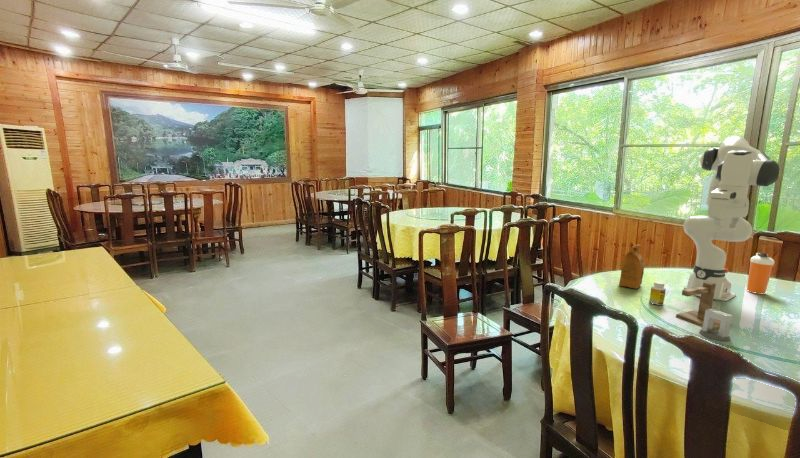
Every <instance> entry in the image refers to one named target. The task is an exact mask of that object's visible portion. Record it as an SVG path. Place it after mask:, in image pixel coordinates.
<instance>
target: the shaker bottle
mask: <svg viewBox="0 0 800 458" xmlns="http://www.w3.org/2000/svg"><path fill="white" fill-rule="evenodd" d="M749 261H750V262H749V263H750V264H749V265H750V266H749V273H748V278H747V286H746V291H747V290H749V291H751V292H756V293H765V292H767V289H768V284H769V281H770V278H771V274H772V270H773V267H774V265H775V259H773V258H772V257H770V255H769V254H768V253H762V252H756V253H755V255H753V256H752V257H750V260H749ZM751 292H750V293H751ZM765 294H766V293H765Z"/></svg>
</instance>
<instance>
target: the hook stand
mask: <svg viewBox="0 0 800 458" xmlns="http://www.w3.org/2000/svg"><path fill="white" fill-rule="evenodd" d="M715 287H716V284H715V283H711V282H703V286H702V287H697V288H691V289H682V292H681V296H684V297H692V296H695V295H698V294H701V297H699V298H700V299H699V305H698V309H697V310H689V311H685V312H680V313H676V315H675V318H678V317H679V318H678V319H681V320H684V321H687V322H689V323H692V324H695V325H696V326H700V327H703V321H704V316H705V311H706V309H711V308H712V309H713V303H714V299H713V297H714V292H715ZM720 323H721V321H719V320H716V319H714V323H713V328H712V330H715V331H718V330H719V328H720Z"/></svg>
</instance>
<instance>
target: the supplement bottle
mask: <svg viewBox="0 0 800 458" xmlns="http://www.w3.org/2000/svg"><path fill="white" fill-rule="evenodd" d="M666 290H667V288H666V287H665V283H664V282H662V281H659V280H658V281H654V282H653V284H652V285H651V289H650V293H649V301H648V302H649V303H650V302H651V303H653V304H657V305H662V306H664V303H665V297H666ZM651 303H650V304H651ZM653 304H652V305H653ZM657 305H656V306H657Z"/></svg>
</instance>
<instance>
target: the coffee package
mask: <svg viewBox="0 0 800 458" xmlns="http://www.w3.org/2000/svg"><path fill="white" fill-rule="evenodd" d="M642 247H643V246H642V245H641V243H638V244H635V245H633V246H632V248H631V249H630V250H629V251H628V252H627V253H626V254H625V256H623V257H624V258H623V261H622V265H621V268H620V270H621V271H620V278H619V284H618V285H619V287H623V288H630V289H638V288H639V287H640V286H641V285H642V283H643V277H644V270H645V263H644V258H643V257H642V255H641V253H640V249H641V248H642Z"/></svg>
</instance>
